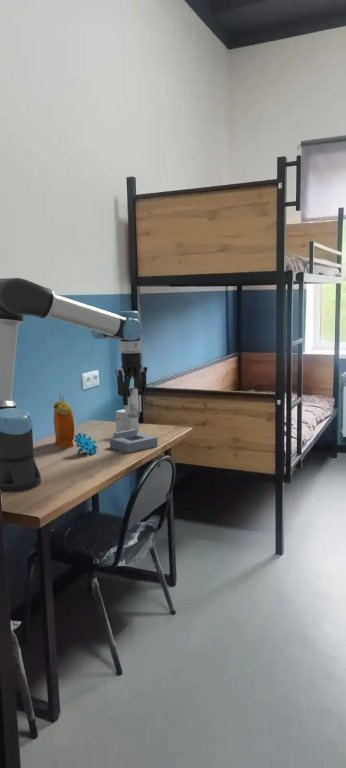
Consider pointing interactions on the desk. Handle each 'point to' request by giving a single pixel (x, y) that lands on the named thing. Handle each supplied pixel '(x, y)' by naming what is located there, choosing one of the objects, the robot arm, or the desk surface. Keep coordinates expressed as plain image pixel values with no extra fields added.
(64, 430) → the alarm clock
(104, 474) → the desk surface
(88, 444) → the gear
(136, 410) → the bushing
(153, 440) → the frame
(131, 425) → the small box
